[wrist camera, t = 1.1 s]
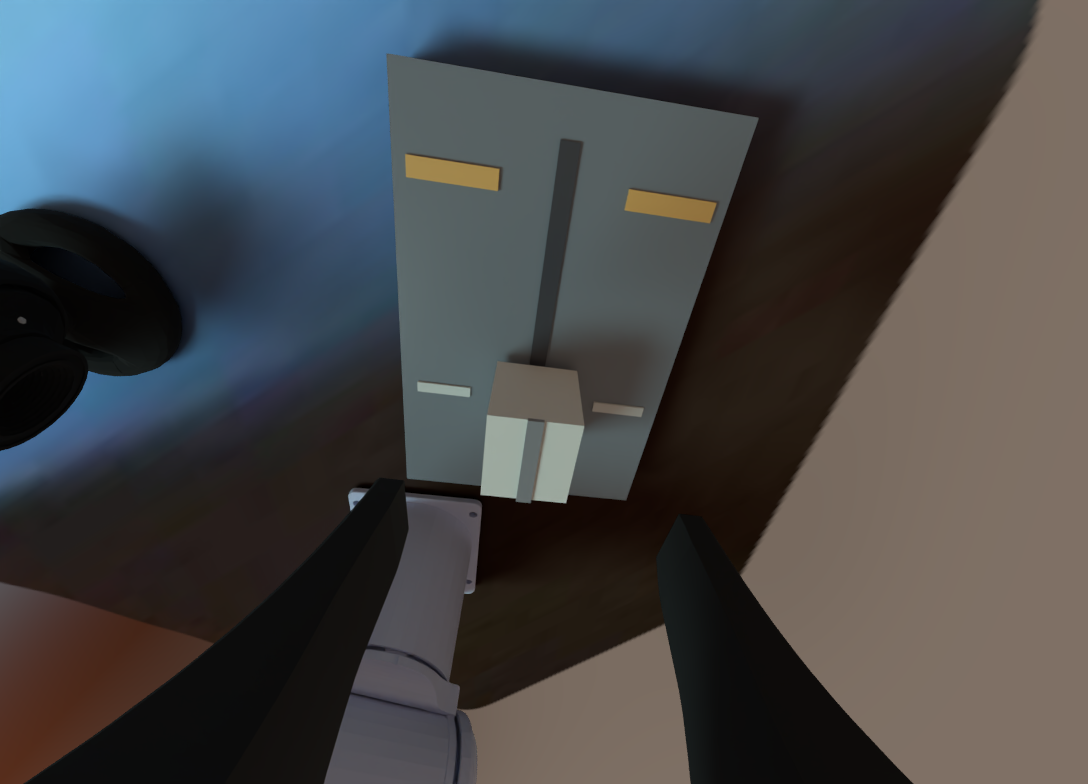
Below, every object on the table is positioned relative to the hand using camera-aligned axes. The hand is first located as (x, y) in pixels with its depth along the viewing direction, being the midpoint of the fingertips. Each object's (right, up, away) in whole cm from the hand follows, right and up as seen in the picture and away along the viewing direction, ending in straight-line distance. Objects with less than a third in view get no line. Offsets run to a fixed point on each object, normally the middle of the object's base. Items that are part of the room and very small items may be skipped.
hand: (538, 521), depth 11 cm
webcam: (-20, +8, +8) cm, 23 cm away
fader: (0, +3, +8) cm, 9 cm away
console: (0, +7, +9) cm, 11 cm away
